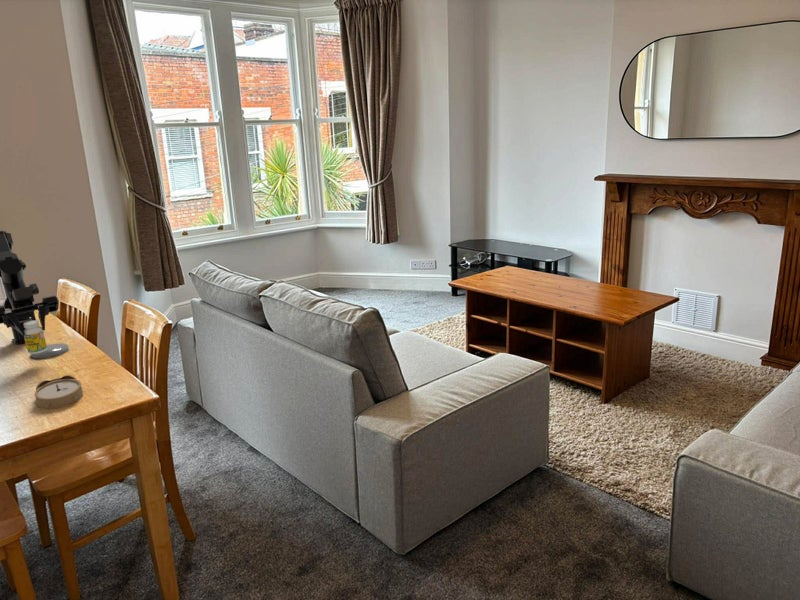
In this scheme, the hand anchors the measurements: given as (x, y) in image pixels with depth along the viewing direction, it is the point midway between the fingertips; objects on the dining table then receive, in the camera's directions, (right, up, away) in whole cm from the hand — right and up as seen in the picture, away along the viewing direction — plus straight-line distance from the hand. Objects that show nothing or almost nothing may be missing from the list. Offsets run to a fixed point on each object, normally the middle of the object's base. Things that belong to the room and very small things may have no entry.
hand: (34, 332), depth 188 cm
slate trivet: (-3, -7, +14) cm, 16 cm away
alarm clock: (+19, -17, -20) cm, 33 cm away
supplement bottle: (-1, -6, +3) cm, 7 cm away
